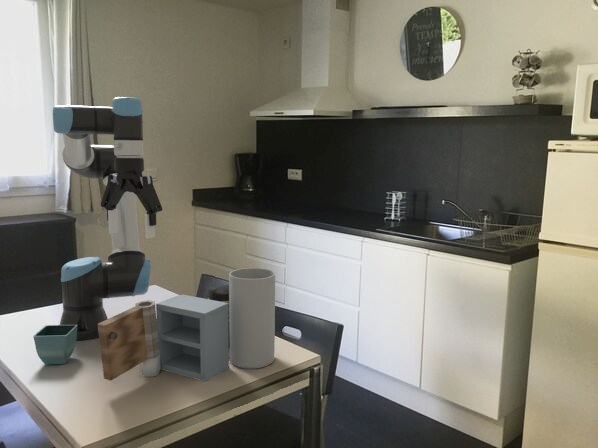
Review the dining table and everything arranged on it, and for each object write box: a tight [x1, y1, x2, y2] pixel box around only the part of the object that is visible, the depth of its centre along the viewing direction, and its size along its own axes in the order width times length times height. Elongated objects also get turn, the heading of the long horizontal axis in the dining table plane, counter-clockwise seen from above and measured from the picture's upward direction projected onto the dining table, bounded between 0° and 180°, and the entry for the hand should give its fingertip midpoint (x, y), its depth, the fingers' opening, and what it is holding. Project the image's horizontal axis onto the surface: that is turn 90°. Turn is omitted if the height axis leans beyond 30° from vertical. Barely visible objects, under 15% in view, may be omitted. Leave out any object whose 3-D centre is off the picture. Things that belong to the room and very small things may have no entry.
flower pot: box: [33, 324, 77, 365], centre depth 143 cm, size 9×9×9 cm
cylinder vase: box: [228, 267, 276, 370], centre depth 144 cm, size 12×12×25 cm
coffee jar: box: [207, 284, 230, 349], centre depth 155 cm, size 10×8×19 cm
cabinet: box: [141, 294, 230, 382], centre depth 137 cm, size 18×15×18 cm
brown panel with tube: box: [98, 299, 160, 382], centre depth 130 cm, size 17×5×14 cm, turn 152°
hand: (131, 235), depth 142 cm, fingers open, 13 cm apart
